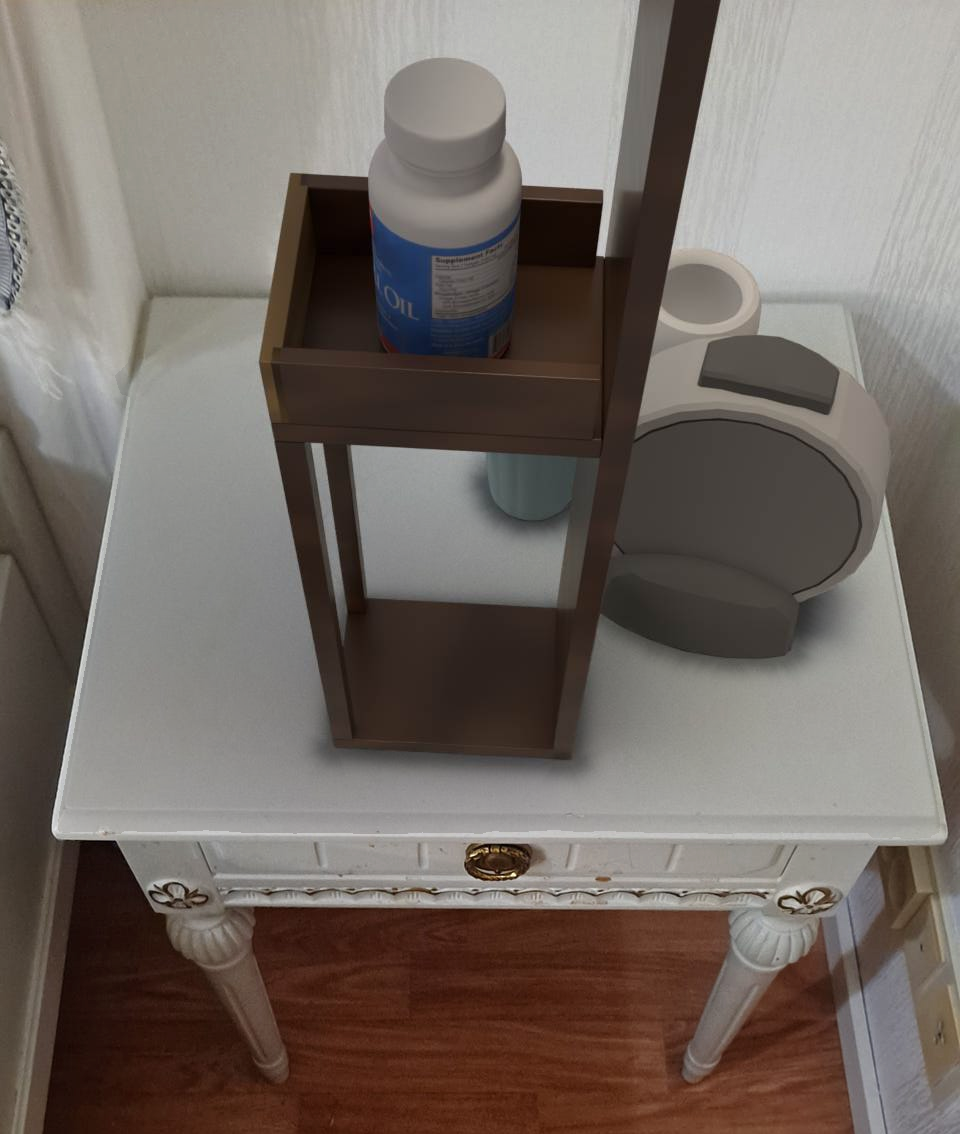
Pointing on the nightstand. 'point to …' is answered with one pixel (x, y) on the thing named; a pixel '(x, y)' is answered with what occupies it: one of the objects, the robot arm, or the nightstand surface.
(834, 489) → the alarm clock
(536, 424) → the rack
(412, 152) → the pill bottle
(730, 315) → the mug
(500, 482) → the cup
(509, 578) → the nightstand surface
